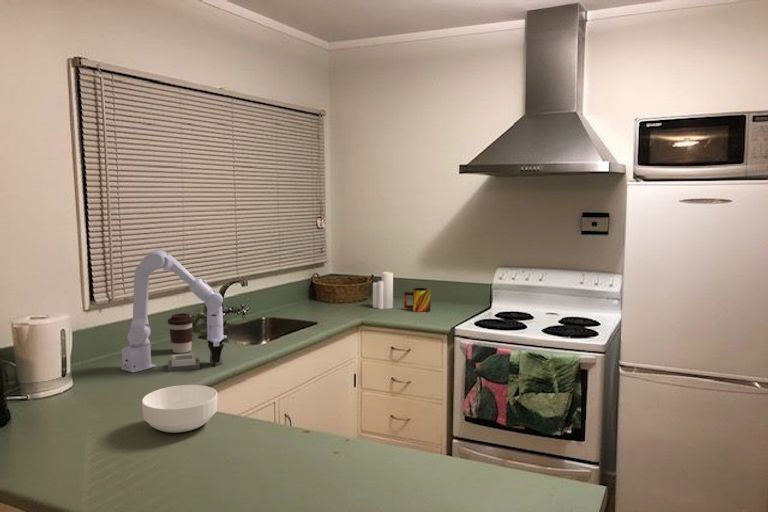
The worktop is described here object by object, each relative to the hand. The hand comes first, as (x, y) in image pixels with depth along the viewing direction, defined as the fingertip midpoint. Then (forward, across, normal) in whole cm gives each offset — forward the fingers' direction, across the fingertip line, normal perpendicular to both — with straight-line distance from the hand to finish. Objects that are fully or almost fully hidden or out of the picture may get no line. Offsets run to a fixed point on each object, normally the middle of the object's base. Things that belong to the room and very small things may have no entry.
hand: (216, 360), depth 220 cm
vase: (+2, +86, -94) cm, 128 cm away
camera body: (+1, 0, +11) cm, 11 cm away
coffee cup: (+2, +23, +12) cm, 26 cm away
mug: (+2, +72, -110) cm, 131 cm away
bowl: (+2, -58, +12) cm, 59 cm away
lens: (+1, 0, 0) cm, 1 cm away
